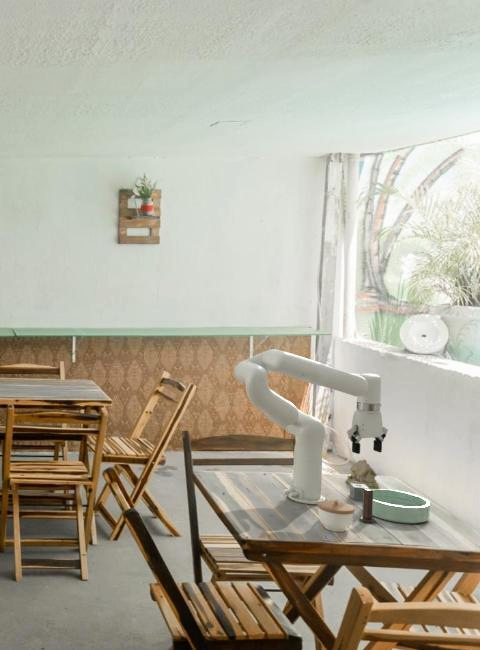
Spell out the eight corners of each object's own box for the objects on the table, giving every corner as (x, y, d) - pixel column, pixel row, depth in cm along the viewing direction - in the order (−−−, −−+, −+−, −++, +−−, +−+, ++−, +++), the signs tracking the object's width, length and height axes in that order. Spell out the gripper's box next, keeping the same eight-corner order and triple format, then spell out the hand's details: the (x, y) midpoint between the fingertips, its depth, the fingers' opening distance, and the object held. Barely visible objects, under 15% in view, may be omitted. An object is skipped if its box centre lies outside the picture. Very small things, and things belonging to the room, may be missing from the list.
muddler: (367, 523, 228) (368, 492, 227) (356, 519, 232) (357, 488, 232) (377, 522, 229) (379, 491, 228) (367, 518, 233) (368, 487, 233)
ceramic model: (342, 478, 279) (342, 454, 278) (371, 479, 277) (372, 456, 277) (356, 489, 265) (357, 464, 265) (386, 490, 263) (387, 465, 263)
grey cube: (363, 497, 256) (364, 484, 255) (368, 501, 251) (369, 488, 250) (349, 496, 257) (349, 483, 256) (353, 500, 252) (354, 487, 252)
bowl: (396, 527, 225) (397, 509, 225) (350, 507, 244) (350, 491, 244) (443, 522, 230) (443, 505, 230) (394, 503, 249) (394, 487, 249)
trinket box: (352, 536, 216) (353, 508, 216) (315, 530, 222) (316, 502, 222) (354, 526, 225) (355, 499, 225) (318, 520, 231) (319, 493, 231)
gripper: (379, 404, 256) (377, 448, 257) (341, 406, 252) (339, 450, 253) (395, 408, 249) (394, 453, 250) (357, 410, 245) (355, 456, 246)
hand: (366, 452), depth 251 cm, fingers open, 9 cm apart
